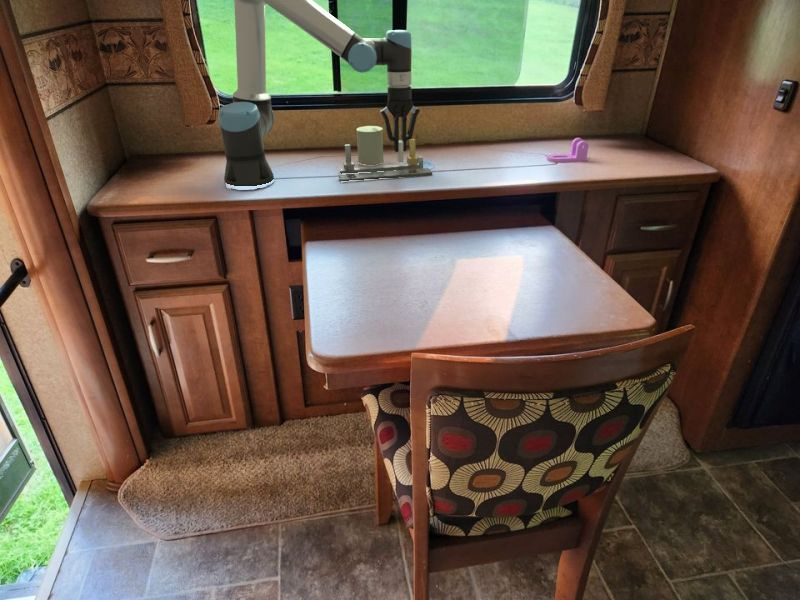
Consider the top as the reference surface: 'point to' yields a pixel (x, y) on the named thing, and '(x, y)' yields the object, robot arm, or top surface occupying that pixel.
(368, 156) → the can
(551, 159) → the bracket
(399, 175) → the hole plate
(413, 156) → the slider
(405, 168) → the rail
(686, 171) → the top surface
